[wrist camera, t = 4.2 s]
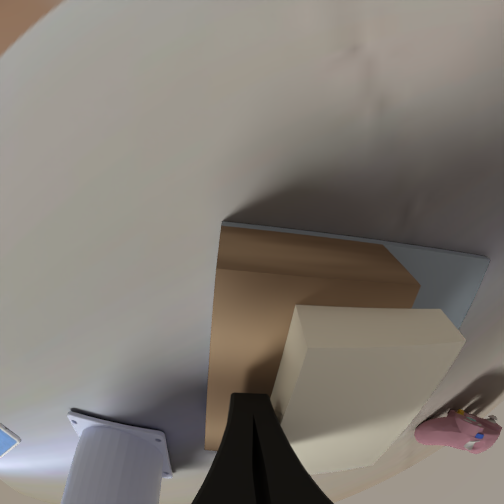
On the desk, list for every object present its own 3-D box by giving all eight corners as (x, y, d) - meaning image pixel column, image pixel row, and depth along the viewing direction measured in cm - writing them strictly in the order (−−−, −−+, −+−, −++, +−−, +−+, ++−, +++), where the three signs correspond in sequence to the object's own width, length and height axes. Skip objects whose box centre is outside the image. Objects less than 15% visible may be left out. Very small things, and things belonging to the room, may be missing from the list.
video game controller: (470, 403, 24) (514, 423, 18) (451, 438, 24) (492, 461, 17) (430, 394, 22) (486, 421, 15) (406, 436, 21) (457, 470, 15)
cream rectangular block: (362, 437, 14) (371, 465, 12) (256, 444, 13) (258, 477, 11) (440, 308, 10) (466, 340, 8) (295, 304, 9) (307, 347, 8)
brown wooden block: (318, 397, 18) (331, 448, 14) (207, 394, 17) (204, 450, 13) (377, 239, 13) (421, 285, 9) (222, 221, 12) (216, 268, 9)
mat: (404, 405, 19) (407, 409, 19) (206, 412, 18) (206, 418, 17) (485, 256, 14) (490, 260, 13) (222, 221, 12) (221, 225, 12)
